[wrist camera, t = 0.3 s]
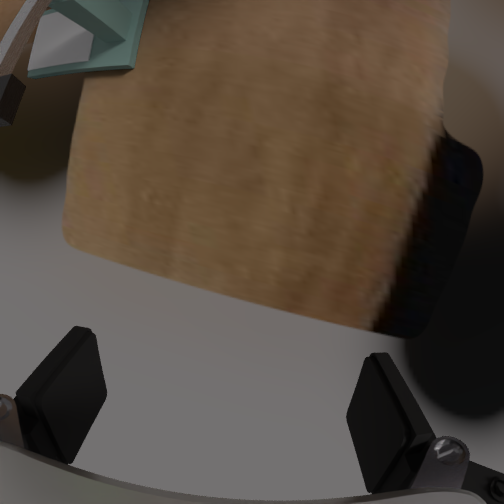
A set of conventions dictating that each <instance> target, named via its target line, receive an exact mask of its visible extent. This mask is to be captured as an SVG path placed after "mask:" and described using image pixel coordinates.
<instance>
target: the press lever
mask: <svg viewBox="0 0 504 504" xmlns="http://www.w3.org/2000/svg"><path fill="white" fill-rule="evenodd" d="M51 1H52V0H26V2H25V3H24V5H23V6H22V8H21V9H20V11H19V12H18V14H17V16H16V17H15V19H14V20H13V22H12V24H11V25H10V27H9V29H8V30H7V32H6V34H5V36H4V37H3V39H2V41H1V43H0V127H1V126H9V125H12V123H13V120H14V117H15V115H16V112H17V109H18V106H19V104H20V101H21V98H22V96H23V93H24V91H25V88H26V86H25V85H24V84H23V83H22V82H21V81H19V80H18V79H17V78H16V77H15V76H14V75H13V74H12V72H13V70H14V67H15V65H16V63H17V61H18V59H19V57H20V55H21V53H22V51H23V49H24V47H25V45H26V43H27V41H28V40H29V38H30V36H31V34H32V32H33V30H34V29H35V27H36V25H37V24H38V22H39V20H40V18H41V17H42V15H43V13H44V12H45V10H46V9H47V7H48V6H49V4H50V2H51Z"/></svg>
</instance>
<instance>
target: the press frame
mask: <svg viewBox="0 0 504 504" xmlns="http://www.w3.org/2000/svg"><path fill="white" fill-rule="evenodd" d="M148 3H149V0H52V1H51V2H50V4H49V7H51V8H52V9H50V10H47V11H45V12H44V13H43V15H42V17H41V18H40V21H39V25H38V28H37V32H36V35H35V39H34V43H33V47H32V52H31V56H30V60H29V65H28V76H27V77H29V78H33V79H38V78H44V77H50V76H57V75H63V74H72V73H81V72H90V71H102V70H116V69H134V66H135V61H136V56H137V51H138V46H139V41H140V36H141V32H142V27H143V23H144V19H145V15H146V11H147V7H148Z"/></svg>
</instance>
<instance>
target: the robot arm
mask: <svg viewBox="0 0 504 504" xmlns="http://www.w3.org/2000/svg"><path fill="white" fill-rule="evenodd" d="M16 395H17V396H16V397H15V398H14V399H12V398H11V397H10V396H8V395H4V394H0V504H504V474H503V473H500V472H497V471H495V470H492V469H490V468H487V467H485V466H482V465H479V464H477V463H474V462H472V461H469V458H470V453H469V449H468V448H467V446H466V444H465V443H463V442H462V441H461V440H459V439H457V438H455V437H451V436H442V437H438V438H436V436H435V434H434V433H433V431H432V429H431V427H430V425H429V423H428V421H427V420H426V418H425V416H424V414H423V412H422V410H421V409H420V407H419V405H418V403H417V402H416V400H415V398H414V397H413V394H412V393H411V391H410V390H409V388H408V386H407V384H406V383H405V381H404V379H403V377H402V376H401V374H400V372H399V370H398V369H397V367H396V365H395V364H394V362H393V360H392V359H391V357H390V355H389V354H388V353H371V355H370V356H369V357H366V358H365V360H364V363H363V366H362V369H361V373H360V376H359V379H358V382H357V385H356V388H355V391H354V394H353V396H352V399H351V402H350V405H349V408H348V411H347V416H346V418H347V423H348V427H349V430H350V433H351V437H352V440H353V444H354V447H355V451H356V454H357V458H358V461H359V465H360V468H361V472H362V475H363V478H364V482H365V486H366V489H367V491H368V492H369V493H370V492H372V494H371V495H363V496H354V497H344V498H334V499H320V500H298V501H297V500H296V501H264V500H240V499H239V500H238V499H227V498H216V497H206V496H198V495H190V494H183V493H177V492H171V491H165V490H160V489H155V488H150V487H145V486H140V485H136V484H131V483H128V482H123V481H119V480H115V479H112V478H108V477H105V476H101V475H98V474H94V473H91V472H88V471H85V470H82V469H79V468H75V467H73V466H70V465H68V464H71V463H73V461H74V459H75V457H76V455H77V453H78V451H79V449H80V447H81V445H82V443H83V441H84V439H85V438H86V436H87V434H88V432H89V430H90V428H91V426H92V424H93V422H94V420H95V418H96V417H97V415H98V413H99V411H100V409H101V407H102V405H103V403H104V402H105V400H106V397H107V389H106V384H105V380H104V375H103V371H102V366H101V361H100V356H99V351H98V345H97V339H96V335H95V334H94V333H92V331H91V329H89V328H85V327H79V326H74V327H73V328H72V329H71V330H70V331H69V332H68V334H67V335H66V336H65V337H64V338H63V339H62V340H61V341H60V342H59V344H57V346H56V347H55V348H54V349H53V350H52V351H51V352H50V353H49V354H48V356H47V357H46V358H45V359H44V360H43V361H42V362H41V363H40V365H39V366H38V367H37V368H36V369H35V370H34V372H33V373H32V374H31V375H30V376H29V377H28V379H27V380H26V381H25V382H24V383H23V384H22V386H21V387H20V388H19V389H18V390H17V392H16Z"/></svg>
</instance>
